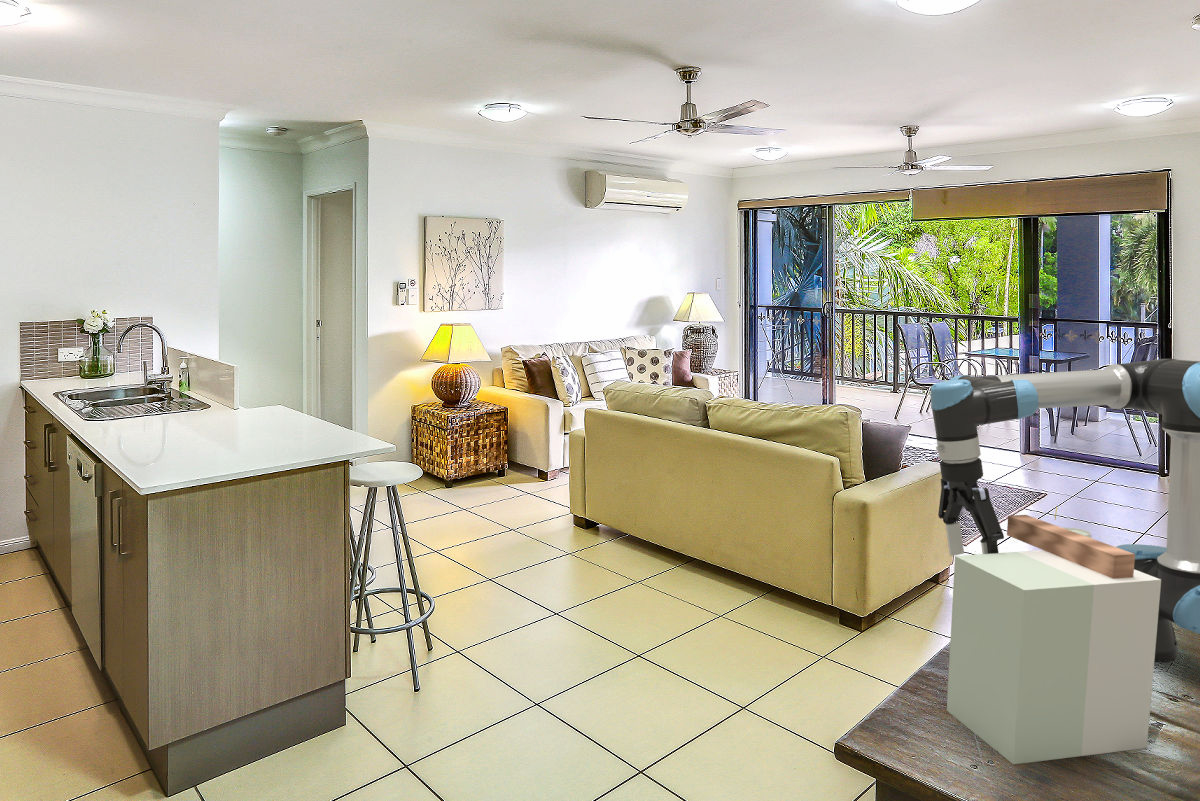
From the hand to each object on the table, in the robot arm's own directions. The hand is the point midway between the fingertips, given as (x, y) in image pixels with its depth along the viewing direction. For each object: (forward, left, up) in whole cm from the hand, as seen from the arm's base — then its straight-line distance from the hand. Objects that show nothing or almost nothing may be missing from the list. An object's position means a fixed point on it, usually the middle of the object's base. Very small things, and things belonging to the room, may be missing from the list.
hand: (974, 563), depth 158 cm
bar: (-10, +12, +5) cm, 16 cm away
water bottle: (-48, -37, -25) cm, 66 cm away
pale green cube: (-4, +18, -25) cm, 31 cm away
